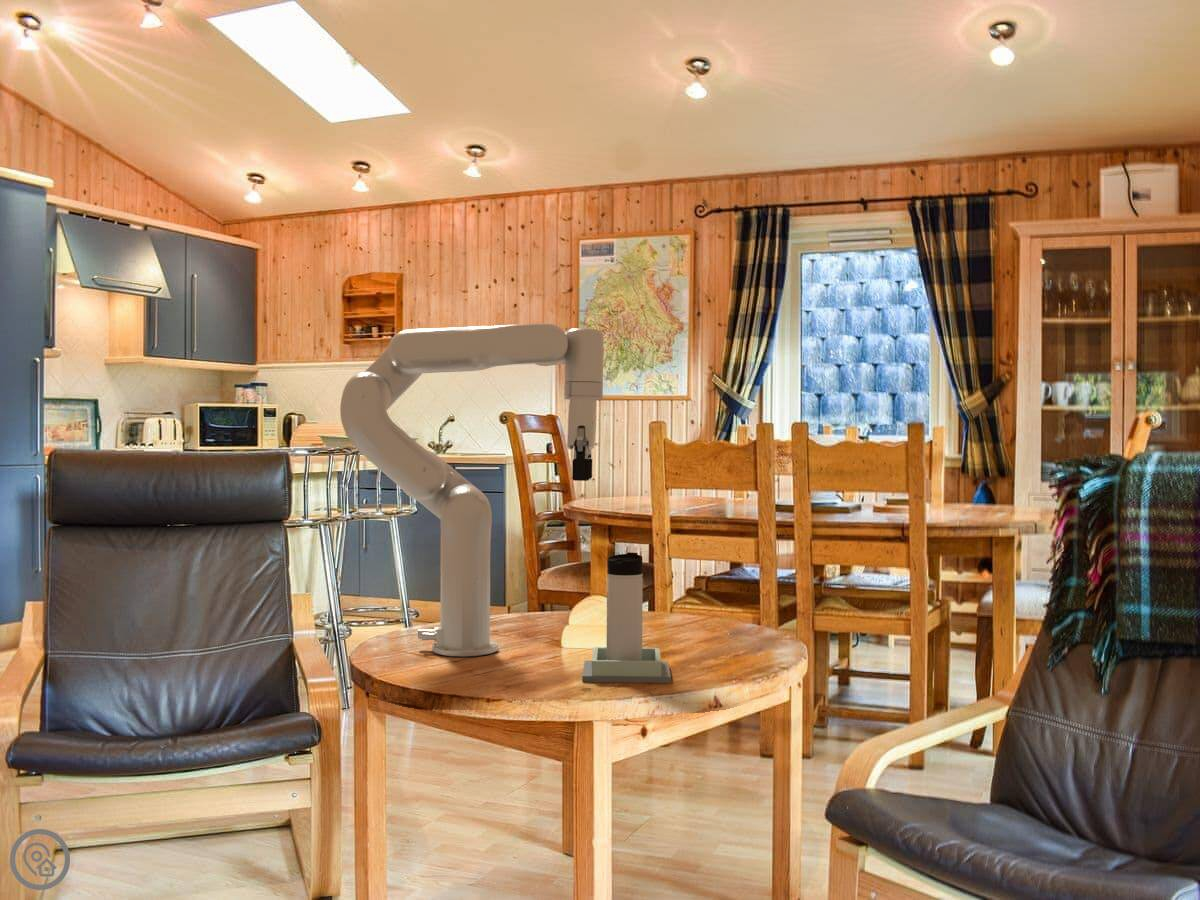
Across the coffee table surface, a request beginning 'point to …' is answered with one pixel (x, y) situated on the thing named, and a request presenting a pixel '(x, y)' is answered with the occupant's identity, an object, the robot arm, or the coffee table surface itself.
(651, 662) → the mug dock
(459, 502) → the robot arm
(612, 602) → the travel mug
